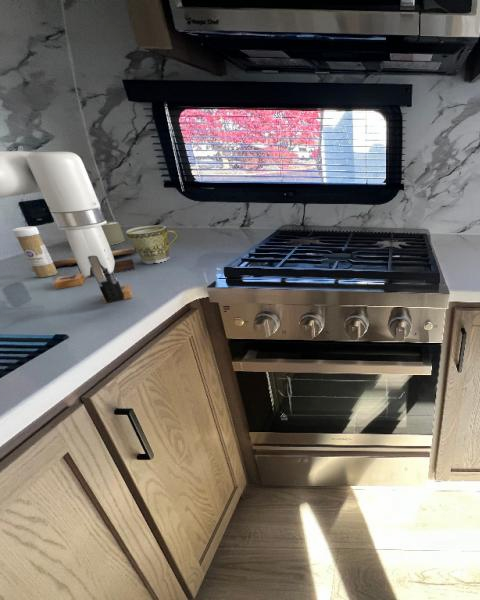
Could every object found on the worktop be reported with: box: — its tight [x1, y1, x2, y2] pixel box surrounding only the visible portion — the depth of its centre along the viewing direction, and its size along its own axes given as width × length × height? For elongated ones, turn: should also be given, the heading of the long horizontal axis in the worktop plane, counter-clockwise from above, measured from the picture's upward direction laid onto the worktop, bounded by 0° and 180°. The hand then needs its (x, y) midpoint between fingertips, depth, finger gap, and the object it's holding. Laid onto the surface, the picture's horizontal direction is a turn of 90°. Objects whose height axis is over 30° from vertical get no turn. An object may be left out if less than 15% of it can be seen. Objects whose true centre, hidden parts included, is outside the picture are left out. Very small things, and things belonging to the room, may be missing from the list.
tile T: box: [53, 272, 86, 290], centre depth 87 cm, size 5×5×2 cm
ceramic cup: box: [125, 224, 178, 265], centre depth 101 cm, size 13×10×10 cm
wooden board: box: [52, 247, 137, 268], centre depth 105 cm, size 25×10×1 cm, turn 128°
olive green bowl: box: [101, 220, 126, 247], centre depth 121 cm, size 12×12×7 cm
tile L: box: [101, 284, 133, 304], centre depth 79 cm, size 5×5×2 cm
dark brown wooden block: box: [77, 258, 136, 278], centre depth 94 cm, size 12×3×3 cm, turn 126°
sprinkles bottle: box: [11, 225, 59, 278], centre depth 90 cm, size 5×5×13 cm
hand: (115, 299), depth 75 cm, fingers closed
